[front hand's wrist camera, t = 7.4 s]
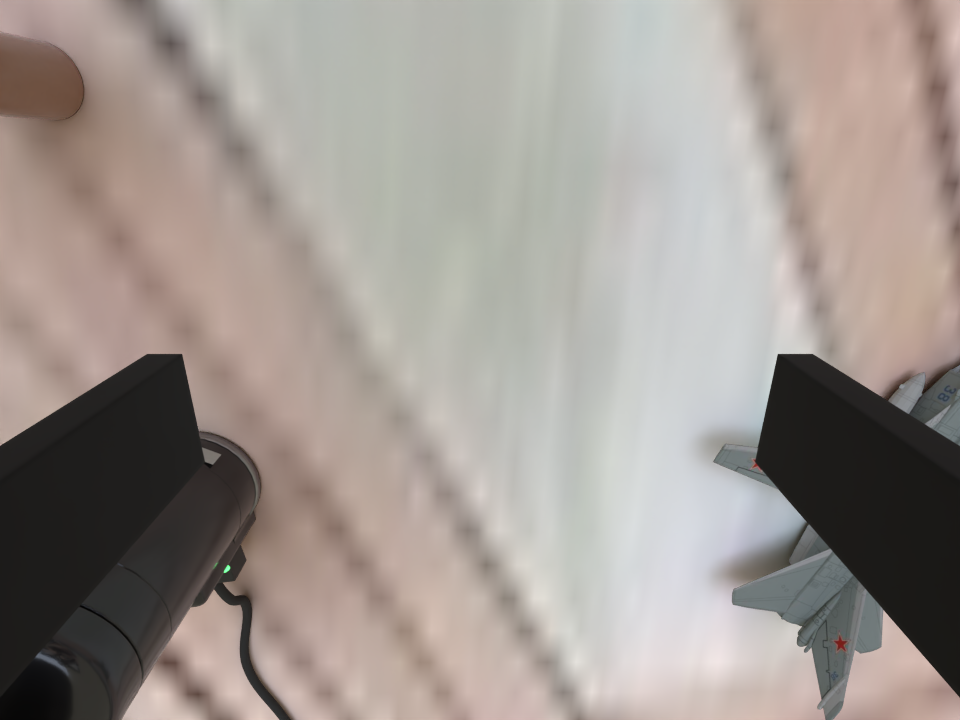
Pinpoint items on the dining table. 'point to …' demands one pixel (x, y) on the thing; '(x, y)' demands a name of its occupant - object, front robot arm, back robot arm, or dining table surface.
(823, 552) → the airplane
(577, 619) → the dining table surface
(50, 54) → the bottle
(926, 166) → the dining table surface
